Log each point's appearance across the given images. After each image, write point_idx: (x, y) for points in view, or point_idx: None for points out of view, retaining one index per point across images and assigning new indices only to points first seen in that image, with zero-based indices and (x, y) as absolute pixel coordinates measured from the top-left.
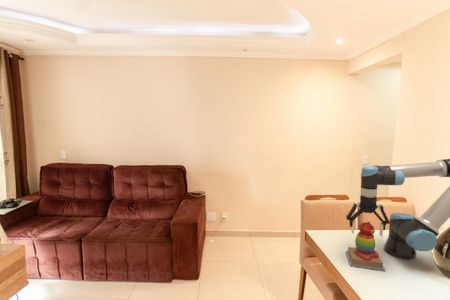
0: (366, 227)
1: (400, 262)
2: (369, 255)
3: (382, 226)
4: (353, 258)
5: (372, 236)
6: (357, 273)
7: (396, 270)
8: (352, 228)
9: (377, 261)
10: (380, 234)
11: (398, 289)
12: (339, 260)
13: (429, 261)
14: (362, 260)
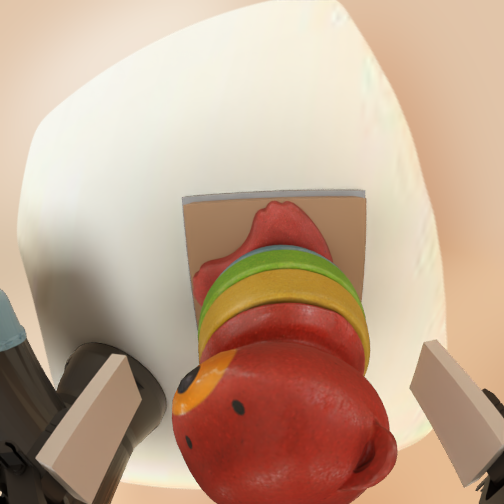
0: (322, 426)
1: (112, 313)
2: (258, 236)
3: (55, 442)
4: (360, 201)
5: (217, 343)
6: (332, 128)
7: (132, 233)
8: (466, 375)
9: (212, 214)
10: (127, 382)
11: (165, 67)
12: (401, 235)
13: (44, 341)
14: (306, 199)
